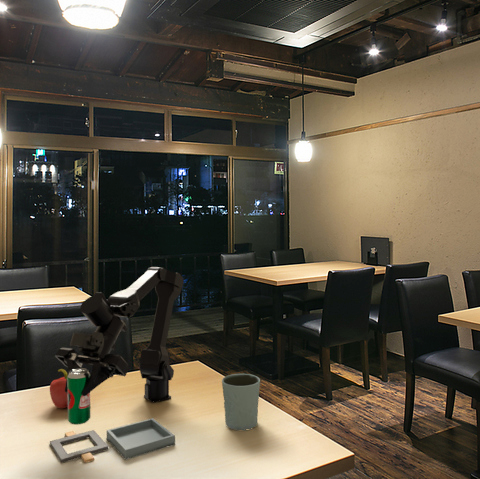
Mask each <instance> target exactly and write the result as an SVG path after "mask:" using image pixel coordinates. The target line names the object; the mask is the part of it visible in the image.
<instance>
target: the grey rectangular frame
mask: <svg viewBox="0 0 480 479" xmlns="http://www.w3.org/2000/svg"><path fill="white" fill-rule="evenodd" d="M64 436H65V437H61V438H57V439H53V440H49V445H50V447H51V449H52V450H53V452H54V454H55V455H56V456H57V458H58V460H59V461H60V463H61V464H62V463H65V462H70V461H72V460H76V459H82V460H83V462H84V464H86V463H89V462H93V461H95V457H94V454H98V453H101V452H104V451H107V450H109V445H108V444H107V443H106V442H105V440H103V438H102V437H101V436H100V435H99V434H98V433H97V432H96V431H95V429H91V430H89V431H85V432H81V433H75V431H74V430H71V431H67V432H64ZM85 439H90V441H91V442H92V443H93V444H94V446H91V447H87V448H83V449H80V450H76V451H72V452H69V453H68V452H67V451H66V449H65V447H63V445H66V444H70V443H73V442H78V441H81V440H85Z"/></svg>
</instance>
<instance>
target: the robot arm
mask: <svg viewBox="0 0 480 479" xmlns="http://www.w3.org/2000/svg"><path fill="white" fill-rule="evenodd" d="M183 286H184V277H183V276H182V275H181V274H180V273H179V272H173V271H171V270H168V269H165V268H164V267H158V266H151V267H148V268H147V269H146V271H145V272H144V274H142V275H141V276H140V277H138V279H137V280H136V281H133V283H132V284H131V285H130V286H128V287H127V288H126V289H123V290H122V289H121V290H120V291H119V290H118V291H117V292H114V293H113V294H112V295H109V297H108V299H107V298H106V296H105V293H103V292H101V291H100V292H98V291H96V292H94V294H93V295H91V296H89V297H88V298H86V299H85V300H84V301H82V303H81V305H80V312H81V313H82V314H83V316H85V318H87V320H88V321H89V322H90V323H91V325H92V326H94V327H97V328H96V329H95V331H93V332H90V333H89V334H88V333H80V332H73V333H72V337H71V340H70V342H69V346H70V347H76V348H78V351H79V352H80V353H82V354H79V353H78V352H77V351H76V350H75V349H74V348H69V347H61V348H58V349H57V352H56V353H55V355H54V357H55V358H56V359H57V360H58V361H59V362H60V363H61V364H63V365H64V367H66V368H67V376H68V375H69V371H71V370H73V369H78V368H83V367H82V366H83V365H89V366H92V368H91V373H90V377H89V379H88V381H87V383H86V385H85V387H84V389H83V392H82V395H83V396H86V395H87V394H88V393H90V394H91V392H92V391H93V390H94V389H96V388H97V387H99V385H101V384H103V383H104V382H106V381H107V380H108V379H110V378H113V377H114V374H115V375H116V376H120V377H126V376H127V373H128V372H129V366H130V365H129V363H128V362H127V361H126V360H125V359H124V357H122V356H121V354H115V353H114V354H113V353H111V351H115V350H116V348H117V346H116V344H115V343H116V341H117V339H118V336H119V335H120V332H128V327H127V325H126V320H122V319H121V318H131V317H133V316H134V315H135V313H137V311H138V310H139V308H140V303H141V302H140V301H141V300H142V299H143V298H144V297H145V296H147V295H148V294H149V293H150V292H151V291H152V289H154V288H155V289H154V290H155V293H156V296H157V299H158V300H157V304H156V308H155V309H156V310H155V315H154V320H153V324H152V325H153V326H152V331H151V337H150V341H149V344H148V346H147V347H146V348H143V349H142V350H141V352H140V358H139V361H138V368H139V372H140V376H141V379H145V383H144V395H143V398H145V399H146V400H147V401H149V402H151V403H152V404H153V403H158V402H162V401H167V400H170V399H172V396H171V395H170V381H172V380H173V378H174V372H175V369H173V367H172V365H170V363H169V360H170V356H169V352H168V350H167V346H166V345H167V341H168V337H169V330H170V326H171V324H170V323H171V319H172V313H173V310H174V309H173V307H174V303H175V301H176V300H177V298H178V297H179V296H180V295H181V293H182V292H181V291H182V289H183ZM113 373H114V374H113ZM65 392H66V393H68V390H67V380H66V386H65Z"/></svg>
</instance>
